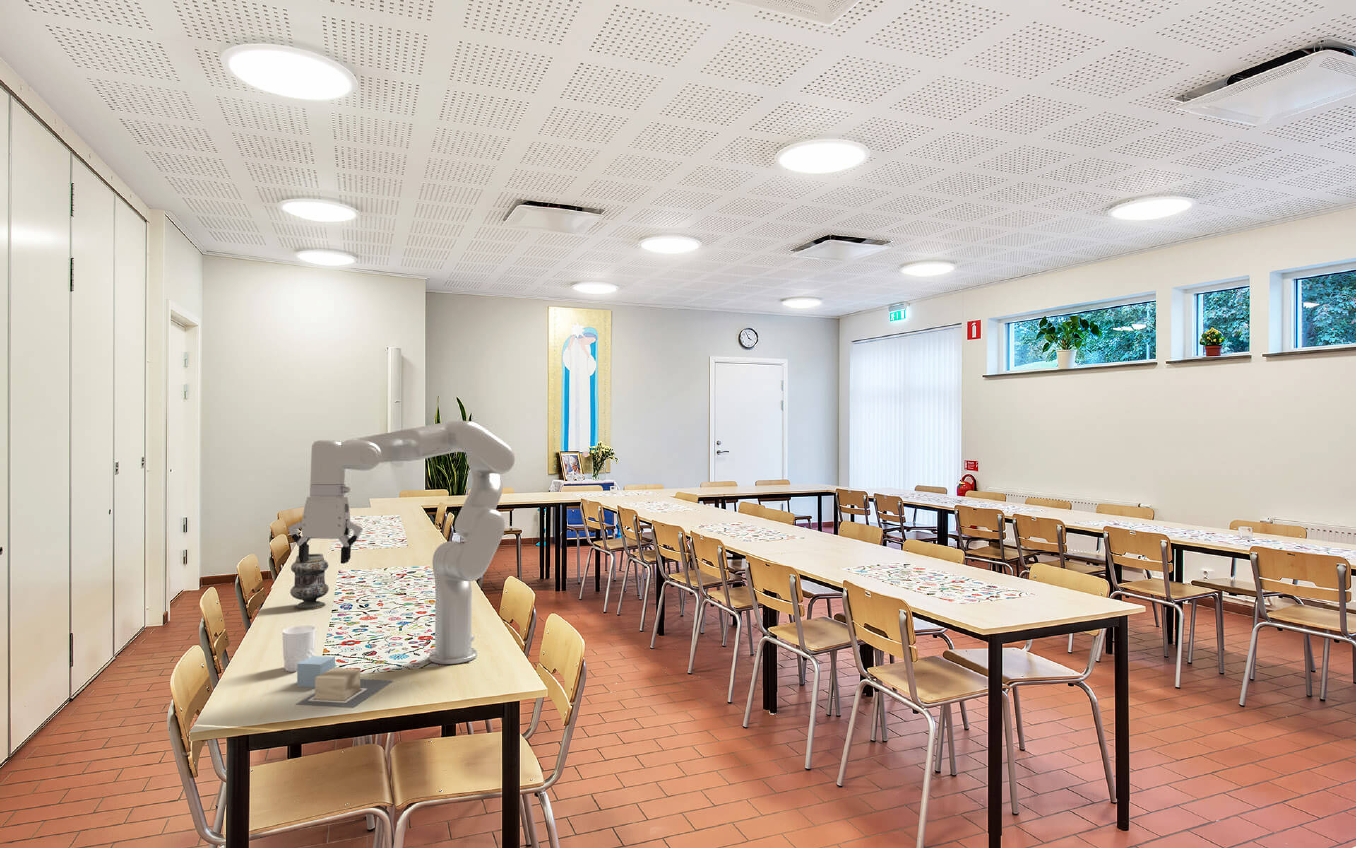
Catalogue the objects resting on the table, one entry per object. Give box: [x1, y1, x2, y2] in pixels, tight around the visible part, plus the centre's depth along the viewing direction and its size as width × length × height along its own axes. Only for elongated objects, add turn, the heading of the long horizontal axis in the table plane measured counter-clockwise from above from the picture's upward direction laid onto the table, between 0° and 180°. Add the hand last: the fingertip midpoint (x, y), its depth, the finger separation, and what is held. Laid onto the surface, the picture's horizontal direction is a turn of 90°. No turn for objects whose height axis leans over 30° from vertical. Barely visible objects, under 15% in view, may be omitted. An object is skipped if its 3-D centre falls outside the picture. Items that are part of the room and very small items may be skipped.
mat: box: [295, 678, 394, 709], centre depth 178 cm, size 18×14×1 cm
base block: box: [314, 667, 361, 701], centre depth 176 cm, size 7×7×5 cm
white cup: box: [281, 625, 317, 673], centre depth 197 cm, size 8×8×10 cm
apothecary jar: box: [289, 553, 330, 611], centre depth 263 cm, size 12×12×18 cm
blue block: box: [296, 655, 336, 688], centre depth 184 cm, size 6×6×6 cm
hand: (324, 562), depth 182 cm, fingers open, 9 cm apart
